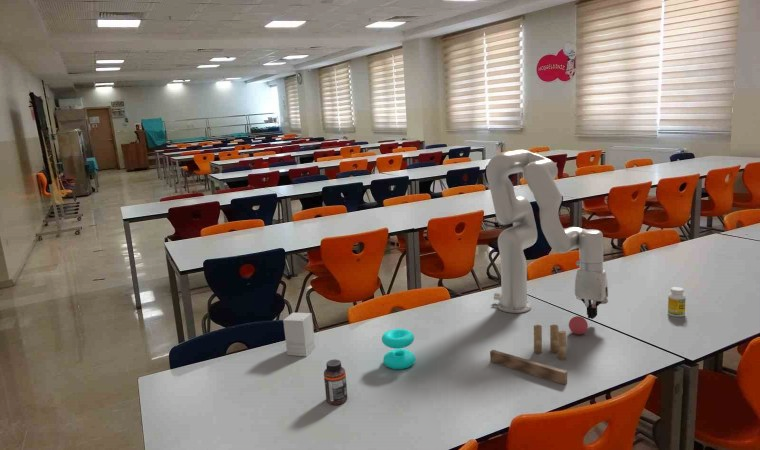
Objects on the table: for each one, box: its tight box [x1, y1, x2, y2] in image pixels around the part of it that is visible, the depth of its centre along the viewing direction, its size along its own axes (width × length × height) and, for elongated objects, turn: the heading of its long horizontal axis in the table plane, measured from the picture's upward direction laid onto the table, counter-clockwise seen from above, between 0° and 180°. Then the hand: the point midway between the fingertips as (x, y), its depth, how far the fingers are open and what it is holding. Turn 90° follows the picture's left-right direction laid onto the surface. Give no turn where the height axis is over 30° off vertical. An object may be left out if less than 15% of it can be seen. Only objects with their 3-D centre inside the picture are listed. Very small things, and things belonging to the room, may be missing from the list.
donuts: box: [381, 328, 416, 370], centre depth 170 cm, size 10×10×10 cm
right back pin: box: [557, 330, 567, 361], centre depth 166 cm, size 2×2×8 cm
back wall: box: [489, 349, 568, 385], centre depth 160 cm, size 24×2×4 cm, turn 46°
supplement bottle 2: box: [667, 286, 686, 318], centre depth 193 cm, size 5×5×10 cm
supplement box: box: [282, 312, 316, 357], centre depth 183 cm, size 7×7×13 cm
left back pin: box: [533, 324, 543, 354], centre depth 172 cm, size 2×2×8 cm
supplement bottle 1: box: [323, 358, 348, 406], centre depth 150 cm, size 6×6×11 cm
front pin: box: [549, 324, 559, 354], centre depth 171 cm, size 2×2×8 cm
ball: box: [568, 315, 589, 335], centre depth 183 cm, size 6×6×6 cm
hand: (592, 317), depth 189 cm, fingers closed
